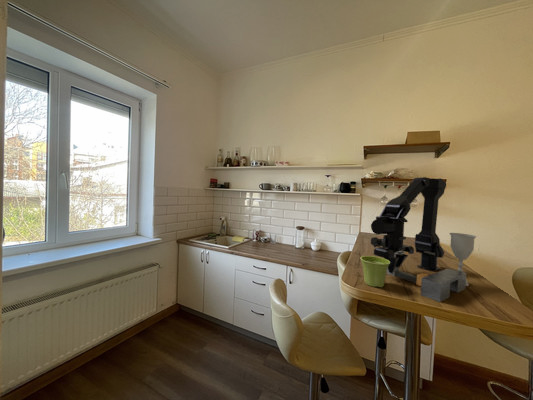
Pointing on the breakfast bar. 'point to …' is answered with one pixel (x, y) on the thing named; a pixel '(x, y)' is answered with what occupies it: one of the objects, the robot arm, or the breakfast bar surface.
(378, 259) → the plant pot
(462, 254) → the chalice
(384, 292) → the breakfast bar surface
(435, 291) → the block
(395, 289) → the breakfast bar surface
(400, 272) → the plug
